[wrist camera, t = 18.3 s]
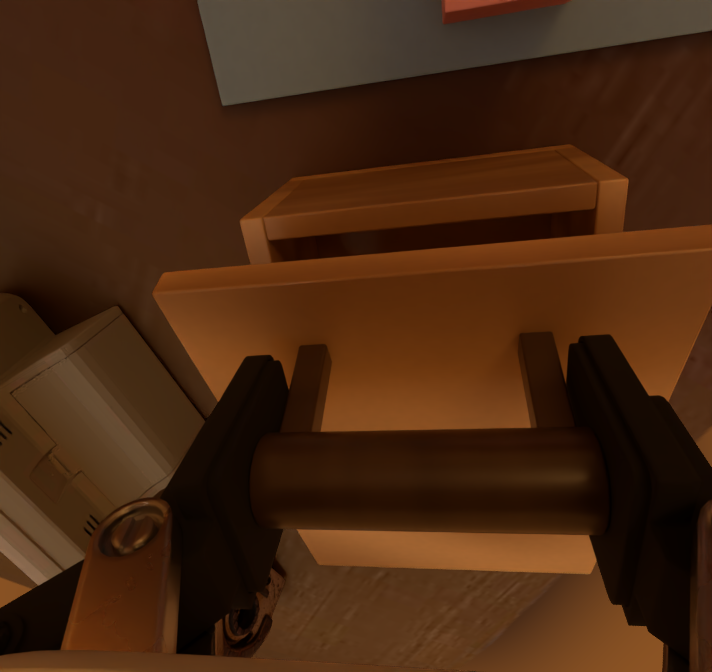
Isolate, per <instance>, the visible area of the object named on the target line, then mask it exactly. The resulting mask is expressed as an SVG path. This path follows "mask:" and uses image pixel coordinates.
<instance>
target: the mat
mask: <svg viewBox="0 0 712 672" xmlns="http://www.w3.org/2000/svg"><path fill="white" fill-rule="evenodd" d="M197 2H198V7H199V11H200V15H201V19H202V23H203V27H204V31H205V36H206V40H207V44H208V48H209V52H210V56H211V60H212V65H213V69H214V73H215V77H216V81H217V85H218V89H219V94H220V98H221V102H222V105H223V106H227V105H234V104H240V103H247V102H253V101H260V100H266V99H273V98H279V97H286V96H292V95H299V94H305V93H312V92H318V91H325V90H331V89H338V88H344V87H351V86H357V85H364V84H370V83H377V82H383V81H390V80H396V79H403V78H409V77H416V76H422V75H429V74H435V73H442V72H448V71H455V70H461V69H468V68H474V67H480V66H487V65H493V64H500V63H506V62H513V61H519V60H526V59H532V58H539V57H545V56H552V55H558V54H565V53H571V52H578V51H584V50H591V49H597V48H604V47H610V46H617V45H623V44H630V43H636V42H643V41H649V40H656V39H662V38H669V37H675V36H682V35H688V34H695V33H701V32H708V31H712V0H572V1H569V2H567V3H565V4H560V5H555V6H549V7H543V8H537V9H531V10H525V11H519V12H514V13H508V14H502V15H496V16H490V17H484V18H478V19H473V20H467V21H461V22H455V23H449V24H443V22H442V1H441V0H197Z"/></svg>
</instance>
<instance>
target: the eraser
mask: <svg viewBox="0 0 712 672" xmlns="http://www.w3.org/2000/svg"><path fill="white" fill-rule="evenodd" d="M441 1H442V22H443V24H449V23H455V22H461V21H467V20H473V19H478V18H484V17H490V16H496V15H502V14H508V13H514V12H519V11H525V10H531V9H537V8H543V7H549V6H555V5H560V4H565V3H567V2H569V1H572V0H441Z"/></svg>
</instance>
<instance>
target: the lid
mask: <svg viewBox="0 0 712 672" xmlns="http://www.w3.org/2000/svg"><path fill="white" fill-rule="evenodd" d="M152 296H153V298H154V299H155V301H156V302H157V304H158V306H159V307H160V309H161V311H162V312H163V314H164V315H165V317H166V319H167V320H168V322H169V323H170V325H171V327H172V328H173V330H174V332H175V333H176V335H177V336H178V338H179V340H180V341H181V343H182V345H183V346H184V348H185V349H186V351H187V353H188V354H189V356H190V357H191V359H192V361H193V362H194V364H195V366H196V367H197V369H198V370H199V372H200V374H201V375H202V377H203V379H204V380H205V382H206V383H207V385H208V387H209V388H210V390H211V392H212V393H213V395H214V396H215V398H216V400H217V401H218V402H219V400H220V398H221V397H222V395H223V393H224V392H225V390H226V388H227V387H228V385H229V383H230V382H231V380H232V378H233V377H234V375H235V373H236V371H237V370H238V368H239V366H240V365H241V363H242V361H243V360H244V358H245V357H246V356H255V355H271V356H272V357H273V358H274V360H279V361H280V362H281V364H282V367H283V370H284V374H285V378H286V382H287V385H288V389H289V392H288V397H287V401H286V405H285V410H284V414H283V418H282V422H281V427H280V431H279V432H275V433H267V434H265V435H263V436H262V437H261V438H260V440H259V442H258V443H257V446H256V448H255V451H254V454H253V458H252V462H251V468H250V477H249V497H250V505H251V510H252V514H253V517H254V519H255V521H256V523H257V524H258V525H259V526H260V527H262V528H264V529H297V531H298V532H299V534H300V536H301V537H302V539H303V541H304V542H305V544H306V545H307V547H308V549H309V550H310V552H311V554H312V555H313V557H314V558H315V560H316V562H317V563H318V564H319V565H338V566H367V567H397V568H426V569H456V570H486V571H515V572H545V573H575V574H590V573H591V572H592V570H593V567H594V565H595V563H596V561H597V560H596V557H595V553H594V550H593V547H592V544H591V541H590V538H589V535H603V534H605V533H606V531H607V529H608V526H609V521H610V512H611V495H610V484H609V477H608V471H607V465H606V461H605V457H604V453H603V450H602V447H601V444H600V442H599V440H598V438H597V436H596V434H595V432H594V431H593V430H592V429H591V428H589V427H577V425H576V421H575V417H574V413H573V409H572V406H571V402H570V398H569V394H568V390H567V386H566V376H567V362H568V349H569V345H570V343H578V340H579V337H580V336H588V335H604V334H610V335H611V336H612V337H613V339H614V340H615V342H616V343H617V345H618V347H619V348H620V350H621V351H622V353H623V355H624V356H625V358H626V360H627V361H628V363H629V364H630V366H631V368H632V369H633V371H634V372H635V374H636V376H637V377H638V379H639V380H640V382H641V384H642V385H643V387H644V389H645V390H646V392H647V393H648V395H649V396H653V395H660V396H662V397H664V398H665V399H666V400H667V401H669V399H670V396H671V394H672V392H673V390H674V388H675V385H676V383H677V381H678V379H679V376H680V374H681V372H682V370H683V368H684V365H685V363H686V361H687V359H688V357H689V354H690V352H691V350H692V348H693V345H694V343H695V341H696V339H697V337H698V334H699V332H700V330H701V328H702V325H703V323H704V321H705V319H706V317H707V314H708V312H709V310H710V308H711V305H712V224H710V225H699V226H687V227H676V228H664V229H653V230H642V231H630V232H619V233H607V234H596V235H585V236H573V237H562V238H550V239H539V240H528V241H516V242H505V243H493V244H482V245H471V246H459V247H448V248H436V249H425V250H414V251H402V252H391V253H379V254H368V255H357V256H345V257H334V258H322V259H311V260H300V261H288V262H277V263H265V264H254V265H242V266H231V267H220V268H208V269H197V270H185V271H174V272H165V273H163V274H162V276H161V278H160V279H159V281H158V283H157V285H156V286H155V288H154V290H153V292H152Z"/></svg>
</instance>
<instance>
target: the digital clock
mask: <svg viewBox="0 0 712 672" xmlns="http://www.w3.org/2000/svg"><path fill="white" fill-rule="evenodd" d="M204 423H205V420H204V419H203V418H202V416H201V415H200V414H199V412H198V411H197V410H196V408H195V407H194V406H193V405H192V403H191V402H190V401H189V399H188V398H187V397H186V395H185V394H184V393H183V391H182V390H181V389H180V387H179V386H178V385H177V383H176V382H175V381H174V379H173V378H172V377H171V376H170V374H169V373H168V372H167V370H166V369H165V368H164V366H163V365H162V364H161V362H160V361H159V360H158V358H157V357H156V356H155V354H154V353H153V352H152V350H151V349H150V348H149V346H148V345H147V344H146V343H145V341H144V340H143V339H142V337H141V336H140V335H139V333H138V332H137V331H136V329H135V328H134V327H133V325H132V324H131V323H130V321H129V320H128V319H127V317H126V316H125V315H124V313H123V312H122V311H121V310H120V308H119V307H118V306H114V307H112V308H110V309H107V310H105V311H103V312H101V313H99V314H97V315H95V316H93V317H91V318H89V319H87V320H85V321H83V322H81V323H79V324H77V325H75V326H73V327H71V328H69V329H67V330H65V331H63V332H61V333H59V334H57V335H55V334H54V333H53V332H52V331H51V330H50V328H49V327H48V326H47V325H46V324H45V323H44V321H43V320H42V319H41V318H40V317H39V316H38V314H37V313H36V312H35V311H34V310H33V309H32V308H31V306H30V305H29V304H28V303H27V302H26V301H25V300H23V299H22V298H21V297H19V296H16V295H13V294H9V293H1V292H0V551H1V552H2V553H3V554H4V555H5V556H6V557H7V558H9V559H10V560H11V561H12V562H13V563H14V564H15V565H16V566H18V567H19V568H20V569H21V570H22V571H23V572H24V573H25V574H26V575H28V576H29V577H30V578H31V579H32V580H33V581H34V582H35V583H36V584H38V585H40V584H42V583H44V582H46V581H47V580H49V579H51V578H52V577H54V576H56V575H57V574H59V573H61V572H63V571H64V570H66V569H68V568H69V567H71V566H73V565H74V564H76V563H78V562H80V561H81V560H83V559H85V555H86V551H87V548H88V544H89V541H90V538H91V536H92V534H93V532H94V530H95V529H96V528H97V526H98V525H99V524H100V522H101V521H102V520H103V519H104V518H106V517H107V516H108V515H109V514H110V513H111V512H112V511H114V510H116V509H117V508H119V507H121V506H122V505H124V504H126V503H129V502H131V501H134V500H136V499H141V498H147V497H152V498H160V497H161V495H162V493H163V492H164V490H165V488H166V487H167V485H168V483H169V482H170V480H171V478H172V477H173V475H174V473H175V472H176V470H177V468H178V467H179V465H180V463H181V462H182V460H183V458H184V457H185V455H186V453H187V452H188V450H189V448H190V446H191V445H192V443H193V441H194V440H195V438H196V436H197V435H198V433H199V431H200V430H201V428H202V426H203V425H204Z"/></svg>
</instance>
